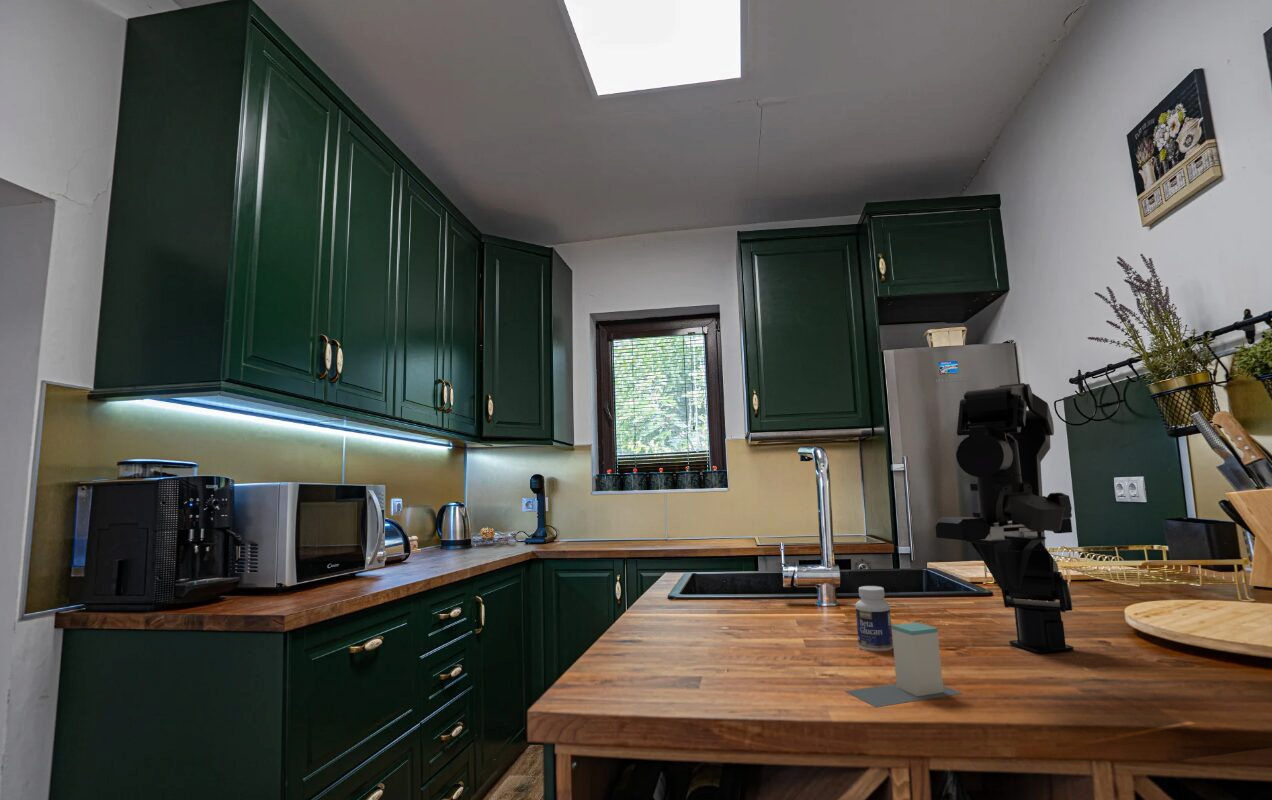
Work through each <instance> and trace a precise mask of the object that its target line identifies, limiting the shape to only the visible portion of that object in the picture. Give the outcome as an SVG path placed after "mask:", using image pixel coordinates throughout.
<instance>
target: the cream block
mask: <svg viewBox="0 0 1272 800" xmlns="http://www.w3.org/2000/svg"><path fill="white" fill-rule="evenodd" d="M891 628H892V641H893V656H894V658H893V660H894V669H895V670H894V671H895V681H896V683H895V684H897V687H898V688H900V689H902V690H904V691H907V692H909V693H911V694H913V695H916V696H922V695H928V694H935V693H941V692H943V686H944V684H943V675H942V664H941V654H940V653H941V652H940V641H939V633H938V631H939V630H938V628H937V627H934V626H932V625H927V624H923V623H921V622H907V623H901V624H900V623H899V624H891Z"/></svg>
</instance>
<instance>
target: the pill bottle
mask: <svg viewBox="0 0 1272 800" xmlns="http://www.w3.org/2000/svg"><path fill="white" fill-rule="evenodd" d="M858 596H859V598H860V599H859V600H858V601H857V602H856V603H855V617H856V629H857V643H858V648H859V649H861V650H862V651H864V650H866V651H870V652H871V651H872V652H886V651H890V650H893V649H894V647H893V635H892V617H891V607H890V603H889V602H888V601H886V600H884V598H885V589H884V587H882V586H878V585H877V586H876V585H863V586H859V587H858Z"/></svg>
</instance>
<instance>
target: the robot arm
mask: <svg viewBox="0 0 1272 800" xmlns="http://www.w3.org/2000/svg"><path fill="white" fill-rule="evenodd" d="M958 407H959V408H958V409H959V410H958V417H957V427H956V428H957V429H956V435H957V437H965V438H964V439H963V440H962V441H960V442H959V445H958V446H957V449H956V452H955V455H956V456H955V458H956V462H957V464H958V465H959V467H960V468H961V469H962V471H963V472H965V473H966V474H967V475H969V476H973V477H975V480H976V481H975V483H969V487H970V491H971V492H977V501H978V502H977V503H978V511H973V512H972V517H971V516H948V517H939V518H938V520H937V521H936V523H935V535H936V539H947V540H957V541H965V543H969V544H971V545H972V547H973V549H974V550H975V551H976V553H977V554H978V555H979V557H980V558H981V560H982V562H984V564H985V566H986V568H987V570H988V571H989V572H990V575H991V576H992V578H993V579H994V581H995V583H996V584H997V587H998V588H999V589H1001V594H1002V600H1003V605H1004V608H1008V609H1009V608H1013V609H1014V610H1013V611H1014V616H1015V617H1014V619H1015V628H1016V637H1017V639H1013V640H1009V641H1008V643H1009V644H1010V645H1012V646H1015V647H1018V648H1021V649H1023V650H1027V651H1031V652H1034V653H1036V654H1045V653H1047V654H1048V653H1055V652H1056V653H1057V652H1066V651H1073V650H1075V649H1074V646H1073V645H1069V644H1067V643H1066V636H1065V627H1064V620H1062V619H1063V618H1062V613H1066V612H1072V611H1073V609H1074V608H1073V601H1072V596H1071V591H1070V587H1069V582H1068V581H1067V580H1066V579H1065V578H1064V574H1063V572H1062V571H1059V566H1058V563H1057V561H1056V560H1055V559H1054V558H1053V555H1052V554H1051V553H1050V552H1049V551H1048V549H1047V548H1046V539H1047V537H1046V535H1045V534H1046V533H1045V531H1047V532H1053V534H1067V533H1068V534H1070V533H1073V526H1072V525H1073V524H1072V519H1071V518H1072V516H1073V514H1072V504H1071V499H1070V496H1069V495H1067V494H1065V493H1063V492H1050V493H1049V494H1048V495H1047V496H1045V495H1043V484H1042V483H1043V482H1042V465H1041V464H1042V463H1041V462H1042V460H1043V459H1044V458H1045V457H1046V455H1047V454H1048V452H1049V451H1050V449H1051V436H1054V433H1055V430H1054V429H1055V428H1054V421H1053V417H1052V412H1051V409H1050V407H1049V404H1048V401H1045V400H1044V399H1042V398H1040V397H1039V396H1037V395H1036V394H1035V393H1033V391H1032V387H1031V385H1030V384H1029V383H1025V382H1020V383H1012V384H1011V383H1010V384H1001V385H999V386H996V387H995V388H986V389H975V390H967V391H966V392H965V393H964V394H963V398H961V399H960V400H959V406H958Z"/></svg>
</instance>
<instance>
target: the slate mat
mask: <svg viewBox="0 0 1272 800" xmlns="http://www.w3.org/2000/svg"><path fill="white" fill-rule="evenodd" d="M844 692H845V693H846V694H848V695H851V696H852V697H853V698H856V699H858V700H860V701H862V702H865V704H866V703H867V704H868V705H870V706H872V707H874V708H879V707H887V706H893V705H899V704H906V703H912V702H913V703H914V702H919V701H925V700H931V699H937V698H944V697H951V696H956V695H963V694H964V693H963V692H960V691H958V690H955V689H953V688H950V687H948V686H946V685H943V692H941V693H935V694H928V695H922V696H916V695H913V694H911V693H909V692H907V691H904V690H902V689H900V688H898V687H897V683H890V684H885V685H884V684H883V685H879V686H877V685H876V686H871V687H864V688H858V689H857V688H855V689H851V690H844Z"/></svg>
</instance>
